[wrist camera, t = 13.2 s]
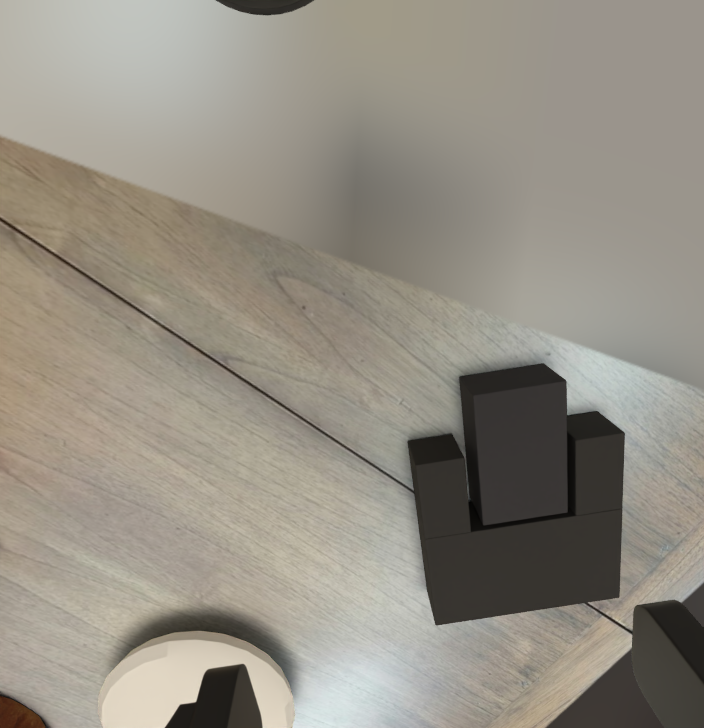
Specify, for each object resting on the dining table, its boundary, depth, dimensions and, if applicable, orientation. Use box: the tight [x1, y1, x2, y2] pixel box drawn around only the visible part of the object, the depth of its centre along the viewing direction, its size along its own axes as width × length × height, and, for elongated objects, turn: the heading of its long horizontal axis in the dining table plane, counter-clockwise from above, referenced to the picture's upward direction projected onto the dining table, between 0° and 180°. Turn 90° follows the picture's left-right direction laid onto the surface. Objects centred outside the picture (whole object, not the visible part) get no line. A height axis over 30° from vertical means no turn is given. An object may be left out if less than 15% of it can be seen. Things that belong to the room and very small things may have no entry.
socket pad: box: [408, 411, 625, 625], centre depth 36 cm, size 14×14×4 cm
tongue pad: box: [459, 364, 568, 525], centre depth 34 cm, size 10×6×4 cm, turn 9°
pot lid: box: [98, 631, 295, 728], centre depth 39 cm, size 16×16×7 cm
